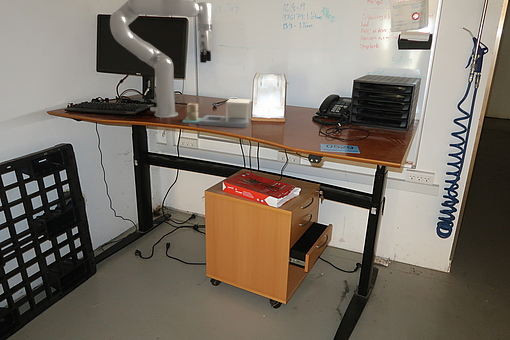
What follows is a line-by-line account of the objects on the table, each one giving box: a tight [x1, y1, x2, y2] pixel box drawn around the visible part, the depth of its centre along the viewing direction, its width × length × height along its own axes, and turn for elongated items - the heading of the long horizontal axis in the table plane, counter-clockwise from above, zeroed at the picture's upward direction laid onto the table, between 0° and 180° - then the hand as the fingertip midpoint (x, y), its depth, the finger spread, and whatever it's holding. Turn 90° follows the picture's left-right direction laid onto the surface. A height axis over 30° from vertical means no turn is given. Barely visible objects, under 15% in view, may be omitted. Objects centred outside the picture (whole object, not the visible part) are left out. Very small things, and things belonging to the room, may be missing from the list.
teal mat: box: [181, 117, 203, 125], centre depth 198 cm, size 9×9×1 cm
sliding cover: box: [225, 98, 252, 123], centre depth 192 cm, size 11×10×10 cm
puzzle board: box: [198, 114, 251, 129], centre depth 195 cm, size 24×14×2 cm, turn 82°
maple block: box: [186, 102, 200, 121], centre depth 196 cm, size 4×4×8 cm
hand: (205, 61), depth 206 cm, fingers open, 9 cm apart
